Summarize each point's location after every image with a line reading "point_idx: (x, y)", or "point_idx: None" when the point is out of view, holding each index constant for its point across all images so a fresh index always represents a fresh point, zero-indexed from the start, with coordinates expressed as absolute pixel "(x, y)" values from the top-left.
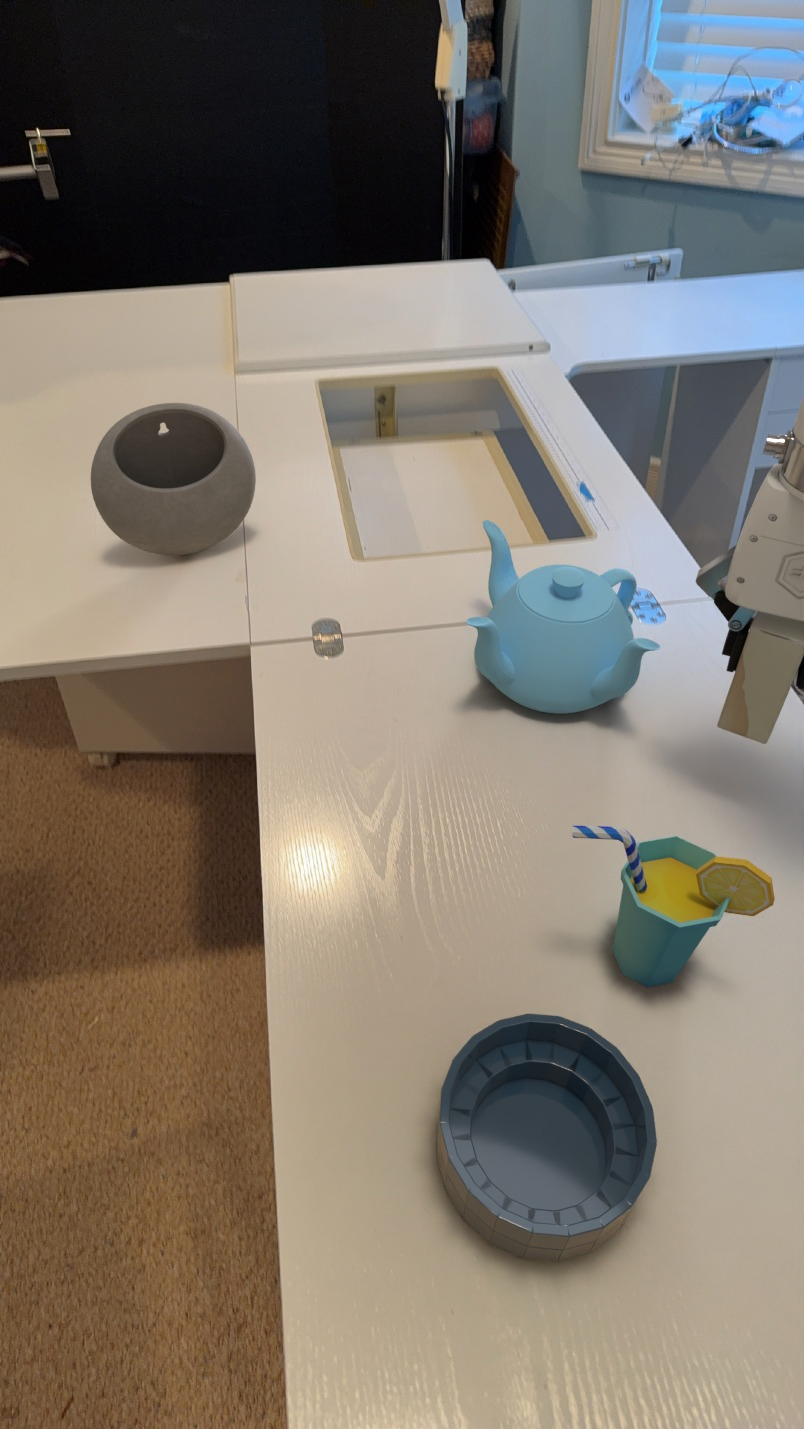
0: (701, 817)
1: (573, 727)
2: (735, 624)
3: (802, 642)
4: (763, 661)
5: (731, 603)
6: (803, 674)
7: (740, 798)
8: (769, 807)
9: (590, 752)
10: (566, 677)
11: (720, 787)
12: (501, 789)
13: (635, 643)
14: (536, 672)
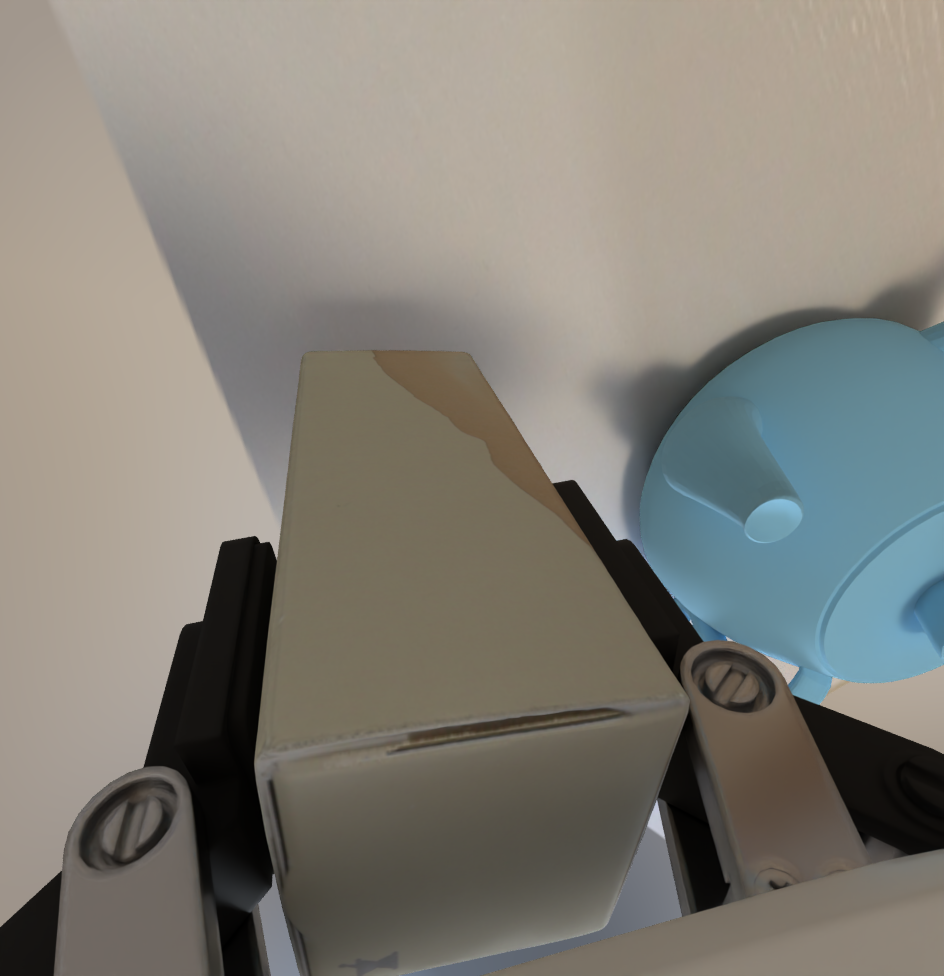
0: (383, 201)
1: (714, 333)
2: (732, 681)
3: (295, 769)
4: (471, 547)
5: (867, 808)
6: (248, 594)
7: (320, 316)
8: (250, 323)
9: (670, 277)
10: (839, 386)
11: (373, 326)
12: (868, 25)
13: (801, 508)
14: (913, 363)
